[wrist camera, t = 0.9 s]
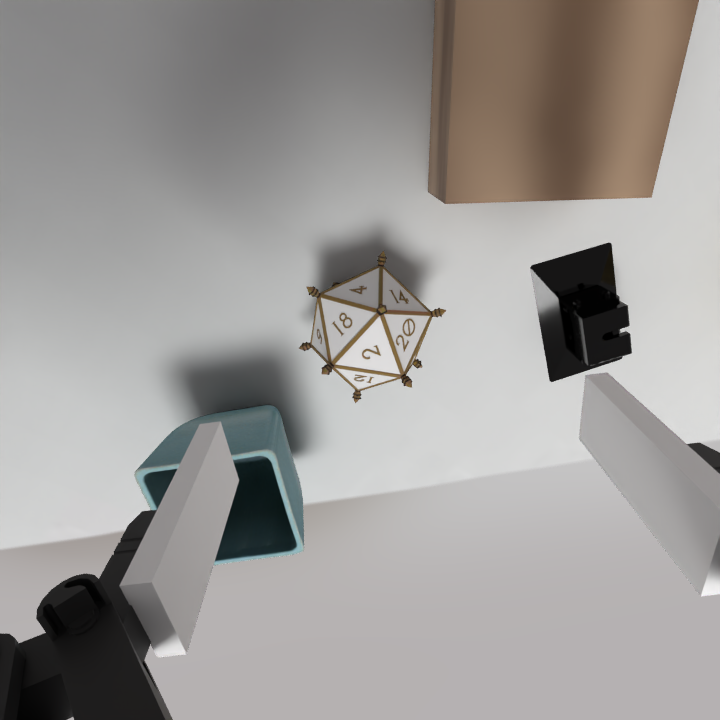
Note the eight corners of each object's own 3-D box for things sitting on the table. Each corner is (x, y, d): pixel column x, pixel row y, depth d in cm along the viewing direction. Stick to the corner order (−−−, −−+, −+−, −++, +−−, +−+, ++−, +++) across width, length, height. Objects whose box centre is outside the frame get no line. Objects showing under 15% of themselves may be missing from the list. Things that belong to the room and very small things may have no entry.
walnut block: (427, 191, 30) (445, 203, 24) (435, -24, 25) (459, -69, 19) (596, 186, 30) (651, 197, 24) (636, -29, 25) (716, -75, 20)
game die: (358, 268, 35) (381, 199, 26) (438, 345, 35) (493, 305, 25) (274, 348, 33) (264, 308, 23) (359, 430, 33) (384, 424, 23)
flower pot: (178, 395, 36) (129, 472, 27) (290, 377, 35) (273, 449, 27) (213, 482, 39) (179, 572, 31) (314, 467, 39) (305, 553, 31)
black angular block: (629, 368, 36) (666, 398, 32) (538, 395, 37) (563, 428, 33) (616, 214, 31) (659, 226, 27) (510, 250, 32) (535, 267, 28)
